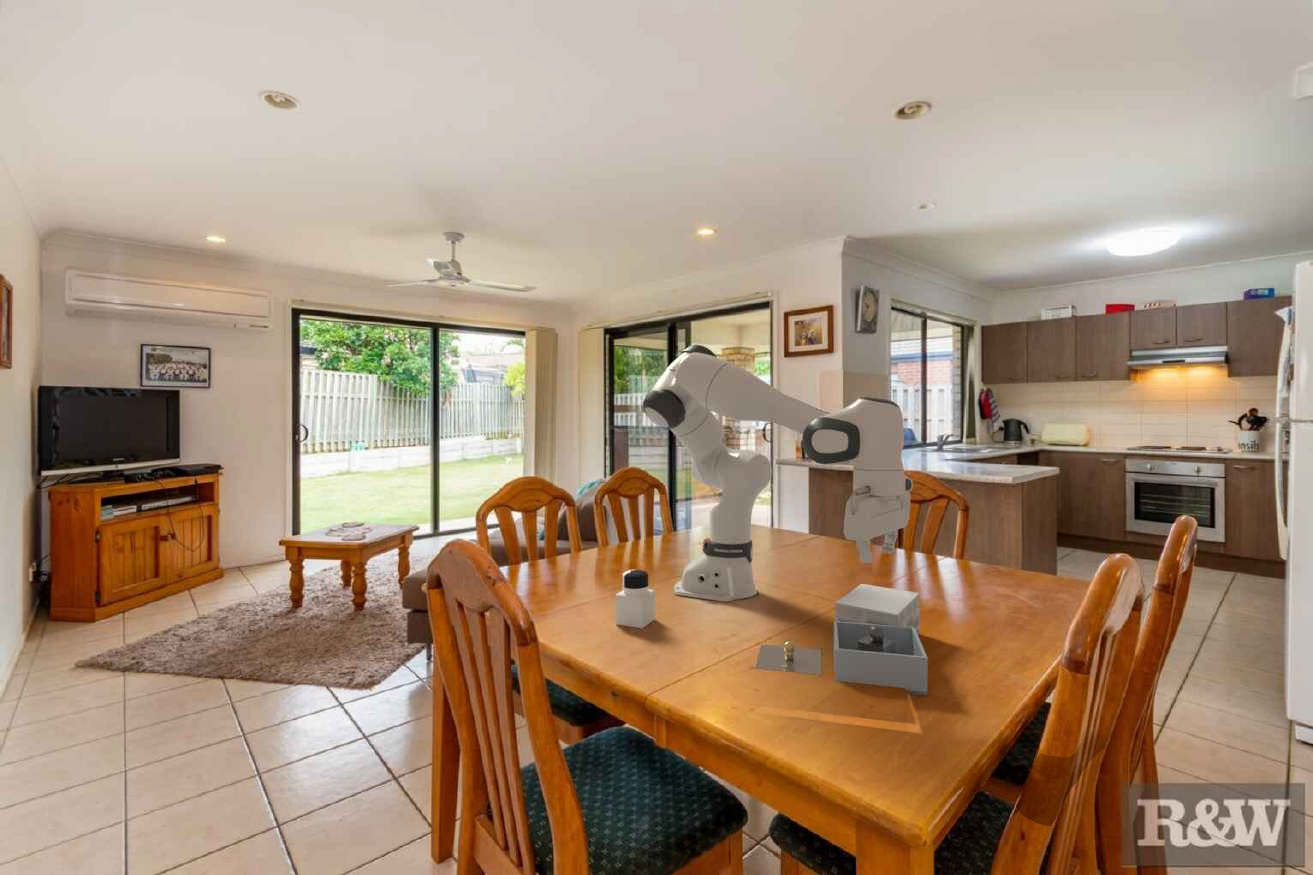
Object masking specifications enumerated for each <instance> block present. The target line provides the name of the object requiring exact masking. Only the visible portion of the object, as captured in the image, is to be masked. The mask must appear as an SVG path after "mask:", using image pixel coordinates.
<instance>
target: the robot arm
mask: <svg viewBox="0 0 1313 875" xmlns="http://www.w3.org/2000/svg"><path fill="white" fill-rule="evenodd" d="M642 408H643V412H644V414H645V415H646V416H647V418H648V419H649V420H650V421H651V422H652V423H653V424H655V425H656V426H658V427H659V428H661V429H665V430H670V431H671V432H672V433H673V435H674V436H675V437H676V438H677V440H679V442H680V443H681V444H682V446H684V448H685V449H686V451H687V452H688V453H689V455H690V457H691V459H692V461H691V466H690V469H691V475H692V476H693V478H694V479H695V480H696V481H697V482H699V483H700V484H702V485H705V486H707V487H709V488H716V489H721V490H722V494H721V498H720V501H719V503H718V504H717V505H715V506H714V507H713V508H712V509H711V511H710V513H709V537H705V539H704V540H703V542H702V548H701V549H702V553H701V554H699V555H698V556H697V557H695V558H694V559H693V560H692V561H689V563H688V564H687V565H686V566H685V567H684V569H683V573H682V577H681V579H680V580H679V581H677V582H676V583H675V584H674V586H673V594H675V595H678V596H680V597H681V596H682V597H683V596H684V597H689V598H697V599H703V600H704V599H705V600H709V601H710V600H712V601H719V602H725V603H726V602H731V601H734V600H743V599H746V598H751V597H753V596H755V595H757V593H758V590H757V588H756V583H755V579H754V573H753V565H752V564H753V563H752V562H753V557H754V545H753V540H752V539H751V537H752V536H751V534H752V514H753V508H754V505H755V502H756V500H757V498H758V496H759V494H760V493H761V492H762V491H763V490H764V489H765V488H767V487H768V485H769V484H770V482H771V480H772V476H773V469H772V464H771V461H770V460H769V459H768V457H767V456H765V455H764V454H761V453H759V452H757V451H753V450H749V449H736V448H734V449H733V448H730V447H728V446H727V445H726V444H724V442H723V439H724V434H725V430H724V426H723V425H722V424H721V422H720V421H719V419H718V418H717V417H716V416H715V414H717V415H720V416H723V417H725V418H726V417H727V418H729V419H732V420H737V421H749V422H750V421H751V422H766V423H773V424H777V425H779V426H783V427H786V428H788V429H789V430H792V431H794V432H796V433H798V434H800V435H802V438H801V441H802V442H801V443H802V448H803V450H804V453H805V454H806V455H807V457H808V458H809V459H810V460H811V461H813V462H815V463H817V464H821V465H824V466H833V465H839V464H844V463H852V466H853V470H852V474H853V476H852V477H853V478H852V479H853V480H852V483H853V484H852V485H853V486H852V488H853V489H852V490H853V491H852V494H851V495H850V497H849V498H848V499H847V501H846V505H845V511H844V521H843V535H844V538H845V539H846V540H848V541H853V542H855V545H856V547H857V550H858V552H859V562H860V563H864V564H869V563H871V562H872V561H873V552H871V547H870V545H871V543H872V542H871V539H874V538H877V537H880V536H883V535H884V540H883V543H882V544H881V545H882V549H881V551H882V553H883V554H887V555H890V554H893V553H895V546H896V545H895V544H896V541H897V538H898V535H899V530H900V529H903V528H906V527H907V526H908V523H909V520H910V514H911V512H910V511H911V494H910V492H911V491H913V489H914V488H913V486H914V482H913V480H912V479H911V478H910V477H908V476H906V474H905V472H904V463H903V461H902V460H903V459H902V454H903V453H902V452H903V450H904V447H905V443H904V442H905V434H904V433H905V430H904V428H905V427H904V420H903V419H904V418H903V413H902V409H901V407H900V406H899V405H898V404H897V403H896V402H895V401H892V400H889V399H885V398H879V397H870V396H861V397H859V398H857V399H856V400H855V401H853V403H851V404H849V405H847V406H845V407H844V408H842V409H840V410H837V411H834V412H826V411H824V410H822V409H819V408H816V407H815V406H812V405H810V404H808V403H805V402H802V401H801V400H799V399H795V398H793V397H791V396H790V395H787V394H785V393H783V392H782V391H780V390H779V389H778V388H777V389H776V388H775V387H773V386H772V385H770V384H769V383H768V382H766V381H764V380H762V379H761V378H759V377H758V376H757V375H755V374H753V373H752V372H750V371H748V370H746V369H744V368H743V367H742V366H741V367H740V365H739V366H738V365H737V364H736V363H735V364H734V363H732V362H730V361H728V360H725V359H723V358H721V357H718V356H717V355H716V353H714V352H713V350H711V349H710V348H708V347H707V346H704V345H702V344H691V345H689V346H688V347H686V348H685V349H683V351H682V352H680V354H679V356H677V358H675V359H674V360H673V361H672V362H671V363H670V365H668V366H667V367H666V369H665V370H663V373H662V374H661V375H660V377H659V378H658V379H657V381H656V383H654V385H653V387H652V388H651V390H649V391H648V392H647V393H646V395H645V398H643V402H642ZM714 413H715V414H714Z"/></svg>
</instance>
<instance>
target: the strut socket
mask: <svg viewBox="0 0 1313 875" xmlns="http://www.w3.org/2000/svg"><path fill="white" fill-rule="evenodd" d="M858 650H860V651H870V652H881V653H892V654H895V641H894V640H890V639H886V638H883V627H882V626H878V625H871V626H870V634H869V635H867V636H866V637H864V638H862V639H861V640H859V641H858Z"/></svg>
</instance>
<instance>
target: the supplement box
mask: <svg viewBox="0 0 1313 875" xmlns="http://www.w3.org/2000/svg"><path fill="white" fill-rule="evenodd" d="M834 621H841V622H853V623H865V624H877V625H890V626H902V627H914V628H915V630H916V632H917V634H918V635H919V634H920V593H919V592H915V591H910V590H908V591H907V590H902V589H896V588H892V587H891V588H890V587H883V586H877V585H871V584H866V583H860V584H859V585H858V586H856V587H855V588H854V589H852V590H851V591H850V592H848V593H846V595H844V596H843V597H841V598H839V599H838V600H837V601H835V603H834Z"/></svg>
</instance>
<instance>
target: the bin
mask: <svg viewBox="0 0 1313 875" xmlns="http://www.w3.org/2000/svg"><path fill="white" fill-rule="evenodd" d="M871 625H877V624H865V623H853V622H841V621H835V620H833V659H834V663H833V665H834V681H835V682H845V683H854V684H855V683H856V684H863V685H864V684H866V685H874V686H883V687H889V688H890V687H893V688H901V689H905V693H906V694H908V695H916V696H917V695H918V696H926V697H927V696H928V668H929V666H928V664H929V661H928V660H929V657H928V656H927V653H926V650H925V649H924V646H923V644H922V642H921V639H920V636H919V634H917V632H916V630H915V628H914V627H902V626H890V625H878V626H882V627H883V638H886V639H890V640H894V641H895V654H892V653H881V652H870V651H860V650H858V641H859V640H861V639H862V638H864V637H866V636H867V635H869V634H870V626H871Z"/></svg>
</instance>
